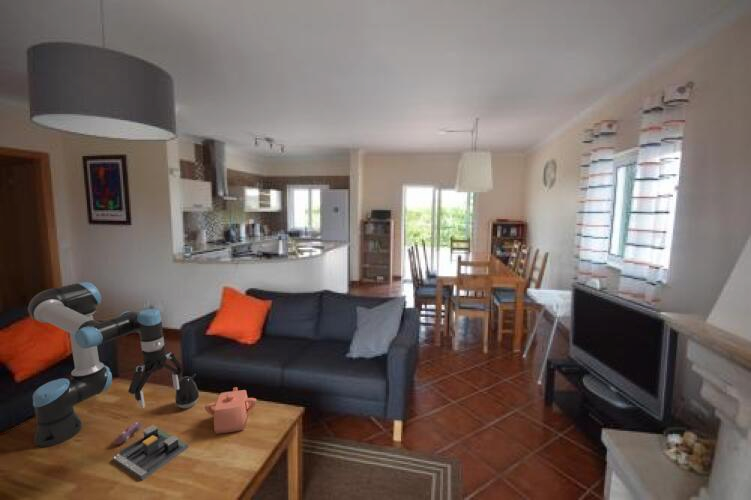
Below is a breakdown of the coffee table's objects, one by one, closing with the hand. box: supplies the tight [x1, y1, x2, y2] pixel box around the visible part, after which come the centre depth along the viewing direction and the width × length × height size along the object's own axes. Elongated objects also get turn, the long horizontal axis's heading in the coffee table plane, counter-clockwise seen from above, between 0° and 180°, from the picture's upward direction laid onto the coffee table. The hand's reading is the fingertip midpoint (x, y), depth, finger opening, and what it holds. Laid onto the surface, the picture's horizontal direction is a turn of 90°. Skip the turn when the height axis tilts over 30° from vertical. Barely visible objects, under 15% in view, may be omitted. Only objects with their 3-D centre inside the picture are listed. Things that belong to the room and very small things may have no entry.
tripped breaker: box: [143, 435, 159, 454], centre depth 135 cm, size 3×4×5 cm
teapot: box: [204, 386, 257, 435], centre depth 156 cm, size 20×22×14 cm
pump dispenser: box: [174, 373, 200, 409], centre depth 166 cm, size 10×10×15 cm
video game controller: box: [114, 421, 143, 446], centre depth 145 cm, size 10×5×7 cm, turn 169°
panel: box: [112, 424, 189, 481], centre depth 135 cm, size 20×18×6 cm
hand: (160, 397), depth 136 cm, fingers open, 13 cm apart
